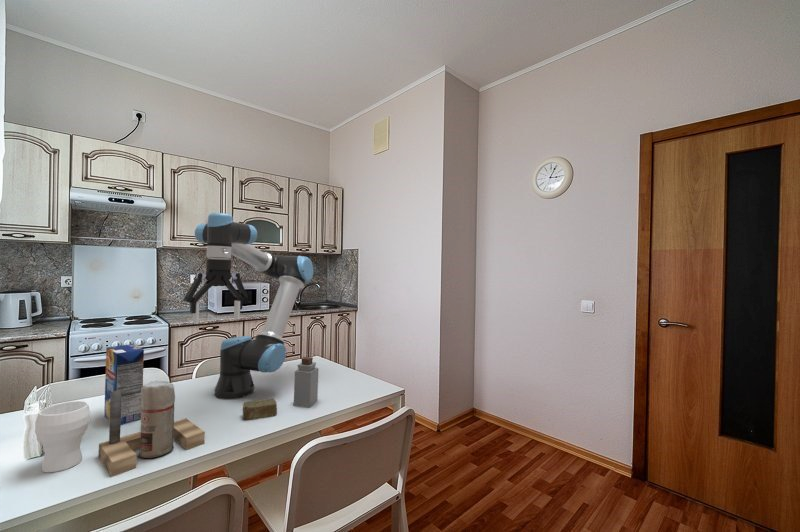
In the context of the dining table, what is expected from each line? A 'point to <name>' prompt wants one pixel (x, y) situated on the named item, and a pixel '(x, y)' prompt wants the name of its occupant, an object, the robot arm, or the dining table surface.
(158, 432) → the spray can
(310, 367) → the perfume bottle
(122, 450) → the wooden stand
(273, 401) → the stone block
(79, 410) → the cup
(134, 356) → the juice carton
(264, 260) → the robot arm
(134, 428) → the dining table surface
